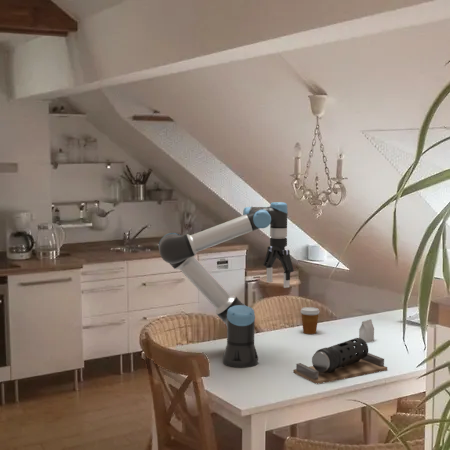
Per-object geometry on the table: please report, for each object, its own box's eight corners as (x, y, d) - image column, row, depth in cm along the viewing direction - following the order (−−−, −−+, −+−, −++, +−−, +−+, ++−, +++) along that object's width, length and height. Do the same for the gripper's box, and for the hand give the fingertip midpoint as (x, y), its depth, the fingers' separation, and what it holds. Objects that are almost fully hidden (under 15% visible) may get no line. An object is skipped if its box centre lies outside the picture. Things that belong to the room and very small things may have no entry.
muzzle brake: (368, 363, 288) (369, 339, 287) (329, 378, 268) (330, 353, 267) (349, 358, 295) (350, 335, 294) (309, 373, 275) (310, 348, 274)
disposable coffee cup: (297, 334, 339) (298, 310, 337) (302, 329, 347) (303, 306, 346) (316, 335, 335) (317, 311, 334) (321, 331, 344) (321, 307, 343)
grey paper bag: (373, 340, 328) (374, 320, 327) (365, 343, 323) (366, 322, 322) (367, 338, 331) (367, 318, 330) (359, 341, 326) (359, 320, 325)
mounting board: (317, 384, 266) (317, 373, 265) (293, 372, 280) (293, 362, 279) (387, 370, 283) (387, 360, 283) (361, 359, 297) (361, 350, 297)
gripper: (302, 240, 293) (301, 288, 296) (270, 233, 315) (269, 279, 317) (287, 241, 290) (286, 290, 292) (256, 234, 311) (255, 280, 314)
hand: (277, 284), depth 305 cm, fingers open, 13 cm apart
